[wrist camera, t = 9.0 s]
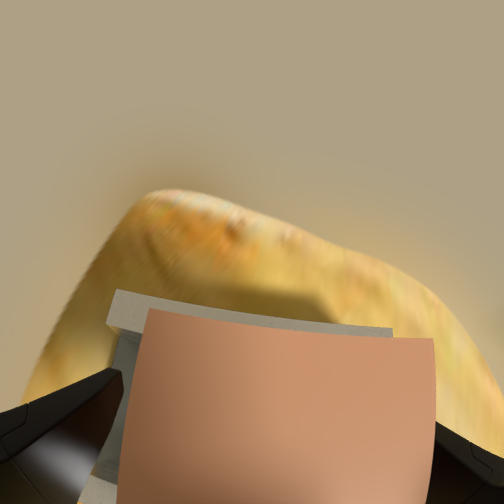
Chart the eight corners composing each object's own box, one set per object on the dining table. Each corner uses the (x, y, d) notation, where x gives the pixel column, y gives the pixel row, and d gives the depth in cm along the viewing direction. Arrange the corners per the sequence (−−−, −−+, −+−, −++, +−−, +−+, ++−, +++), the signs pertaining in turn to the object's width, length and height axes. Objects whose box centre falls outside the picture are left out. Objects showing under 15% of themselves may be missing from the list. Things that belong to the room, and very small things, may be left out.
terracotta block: (278, 472, 12) (406, 568, 2) (189, 463, 12) (115, 573, 1) (286, 394, 15) (433, 338, 4) (200, 383, 15) (149, 308, 4)
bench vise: (330, 583, 7) (354, 608, 3) (98, 559, 7) (74, 582, 3) (364, 348, 18) (399, 328, 14) (130, 315, 17) (108, 286, 13)
